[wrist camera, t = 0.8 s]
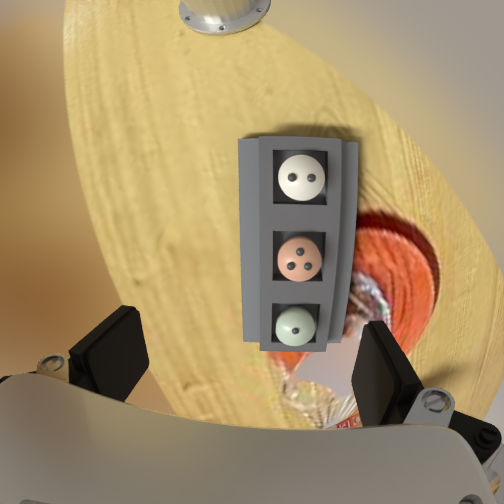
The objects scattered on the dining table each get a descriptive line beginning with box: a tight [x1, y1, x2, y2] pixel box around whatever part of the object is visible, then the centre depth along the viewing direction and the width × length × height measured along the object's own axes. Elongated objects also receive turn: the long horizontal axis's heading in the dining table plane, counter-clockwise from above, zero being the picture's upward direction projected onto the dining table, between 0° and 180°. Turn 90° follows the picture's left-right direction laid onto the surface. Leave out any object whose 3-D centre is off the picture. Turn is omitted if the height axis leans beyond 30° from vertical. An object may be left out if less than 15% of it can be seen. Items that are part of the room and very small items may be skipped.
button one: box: [276, 306, 315, 346], centre depth 33 cm, size 5×5×2 cm
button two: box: [278, 155, 325, 201], centre depth 28 cm, size 5×5×2 cm
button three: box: [278, 236, 321, 282], centre depth 31 cm, size 5×5×2 cm
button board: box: [238, 136, 358, 352], centre depth 33 cm, size 27×14×4 cm, turn 1°
